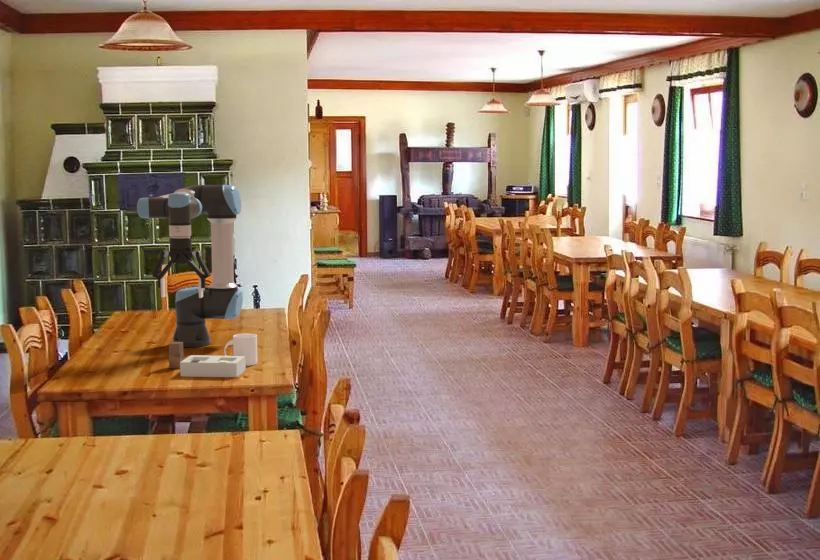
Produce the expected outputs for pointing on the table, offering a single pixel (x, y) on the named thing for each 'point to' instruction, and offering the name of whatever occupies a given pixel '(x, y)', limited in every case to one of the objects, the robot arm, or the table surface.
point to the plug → (175, 354)
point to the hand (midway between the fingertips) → (182, 297)
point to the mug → (245, 347)
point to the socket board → (212, 366)
